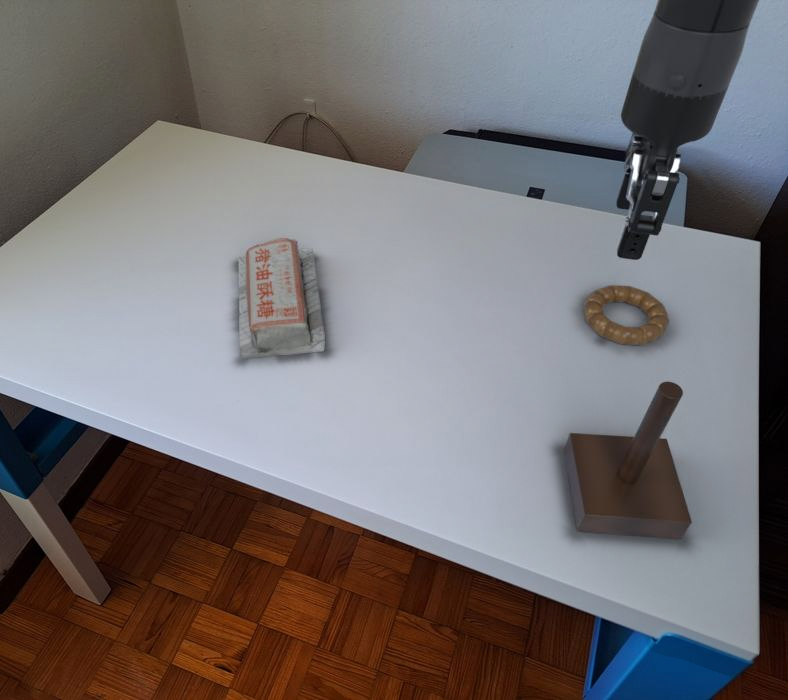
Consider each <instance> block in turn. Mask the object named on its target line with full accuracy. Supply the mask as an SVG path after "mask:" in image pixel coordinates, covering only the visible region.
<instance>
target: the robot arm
mask: <svg viewBox="0 0 788 700" xmlns="http://www.w3.org/2000/svg"><path fill="white" fill-rule="evenodd" d="M759 2H760V0H657V2H656V5H655V9H654V11H653V14H652V17H651V19H650V22H649V23H648V26H647V28H646V31H645V33H644V35H643V38H642V41H641V45H640V47H639V51H638V54H637V58H636V61H635V64H634V68H633V71H632V75H631V78H630V81H629V85H628V88H627V91H626V95H625V98H624V102H623V105H622V108H621V112H620V119H621V122H622V124H623V125H624V127H625V128H626V129H627V130H628V131H630V132H631V133H632V134H631V137H630V139H629V142H628V146H627V148H626V149H625V161H624V165H623V169H624V170H623V171H624V176H623V179H622V182H621V185H620V189H619V192H618V195H617V197H616V201H615V202H616V203H615V205H616V208H617V209H619V210H625V211H626V210H627V211H628V212H627V215H626V217H625V221H624V222H625V225H624V228H623V232H622V234H621V237H620V239H619V243H618V245H617V248H616V256H617V257H618V258H619V259H625V260H633V261H638V260H640V259H642V256H643V254H644V252H645V249H646V246H647V244H648V241H649V239H650V236H657V237H658V236H659V235H660V232H661V231H662V229H663V224H664V221H665V219H666V215H667V213H668V211H669V208H670V205H671V202H672V199H673V198H674V194H675V192H676V189H677V186H678V184H679V183H680V179H681V178H680V173H679V172H678V171H679V168H680V164H681V160H682V153H681V152H678V149H679V148H680V147H681V146H683V145H685V144H689V143H694V142H696V141H698V140H701V139H703V138H705V137H706V136H707V135H709V133H710V132H711V131H712V129H713V126H714V124H715V121H716V118H717V116H718V113H719V111H720V109H721V107H722V104H723V103H724V99H725V96H726V94H727V91H728V89H729V86H730V84H731V81H732V78H733V77H734V74H735V72H736V69H737V66H738V64H739V62H740V60H741V57H742V53H743V50H744V46H745V42H746V38H747V35H748V31H749V28H750V25H751V22H752V20H753V17H754V15H755V12H756V10H757V7H758V5H759ZM644 212H648V213H649V212H650V215H647V214H642V213H644Z"/></svg>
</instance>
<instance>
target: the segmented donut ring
mask: <svg viewBox="0 0 788 700" xmlns="http://www.w3.org/2000/svg"><path fill="white" fill-rule="evenodd" d="M611 303H627V304H628V305H631V306H634V307H637V308H639V309H640V310H641V311H642V312H643V313H645V314H646V315H647V317H648V321H647V324H644V325H642V326H639V327H638V326H625V325H622V324H619V323H616V322H614V321H612V320H611V319H610V318H608V317H607V316H606V315H605V314H604V309H603V308H604V307H605V306H606V305H608V304H611ZM582 308H583V313H584V317H585V321H586V324H587V325H588V326H590V328H591V329H592V330H594V331H595V332H596V333H597V334H598V335H599V336H600V337H601V338H604V339H607V340H609V341H612V342H614V343H616V344H619V345H629V346H645V345H647V344H649V343H651V342H655V341H657V340H659V339H660V338H662V337H663V336H664V333H665V332H666V330H667V328H668V326H669V323H670V318H669V314H668V312H667V309H666V307H665V305H664V304H663V303H662V302H661V301H660V300H659V299H657V298H656V297H655V296H654V295H652V294H651V293H650V292H648V291H645V290H642V289H640V288H637V287H634V286H631V285H617V284H616V285H615V284H610V285H607V286H604V287H601V288H597V289H595V290H593V291H592V292H590V294H589V295H588V298H587V299H586V300H585V302H584V304H583V307H582Z"/></svg>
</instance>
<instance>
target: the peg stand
mask: <svg viewBox="0 0 788 700" xmlns="http://www.w3.org/2000/svg"><path fill="white" fill-rule="evenodd" d="M683 395H684V390H683V388H682V387H681V386H680V385H679V384H678V383H676V382H673V381H662V382H661V383H659V384H658V387H657V389H656V391H655V393H654V395H653V397H652V399H651V401H650V403H649V405H648V407H647V410H646V412H645V413H644V415H643V418H642V420H641V422H640V424H639V426H638V429H637V430H636V432H635V434H634V436H630V435H629V436H627V435H613V434H612V435H610V434H596V433H595V434H594V433H579V432H577V433H576V432H570V433H569V435H568V438H567V440H566V443H565V446H564V449H563V456H564V462H565V467H566V474H567V479H568V485H569V491H570V498H571V504H572V509H573V515H574V520H575V521H574V522H575V527H576V531H577V532H578V533H587V534H600V535H601V534H602V535H617V536H630V537H644V538H658V539H671V540H681V539H682V538H683V536H684V535H685V533H686V532H687V531H688V529H689V528H690V526H691V525H692V523H693V521H692V518H691V514H690V512H689V511H690V510H689V508H688V505H687V501H686V498H685V494H684V491H683V487H682V484H681V481H680V477H679V474H678V471H677V467H676V465H675V461H674V458H673V454H672V451H671V448H670V444H669V441H668V439H667V438H663V437H662V435H663V433H664V431H665V429H666V427H667V426H668V424H669V422H670V420H671V418H672V416H673V414H674V412H675V410H676V409H677V407H678V405H679V404H680V401H681V399H682V397H683ZM661 437H662V438H661Z"/></svg>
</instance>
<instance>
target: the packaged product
mask: <svg viewBox="0 0 788 700" xmlns="http://www.w3.org/2000/svg"><path fill="white" fill-rule="evenodd" d="M314 253H315V252H314V249H313V248H312V247H308V248H302V249H301V248H300V249H299V245H298V240H297V239H294V238H288V237H278V238H275V239H273V240H269V241H266V242H263V243H260V244H256V245H253V246H251V247H249V248H248V249H247V250H246V252H245V255H244V256H243V257H242V256H238V310H239V314H238V315H239V316H238V317H239V319H238V320H239V321H238V325H239V329H238V330H239V357H240V358H241V359H253V358H264V357H276V356H290V355H300V354H310V353H319V352H325V349H326V348H325V346H326V334H325V328H324V320H323V312H322V304H321V298H320V289H319V284H318V277H317V276H318V275H317V268H316V259H315V254H314Z"/></svg>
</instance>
